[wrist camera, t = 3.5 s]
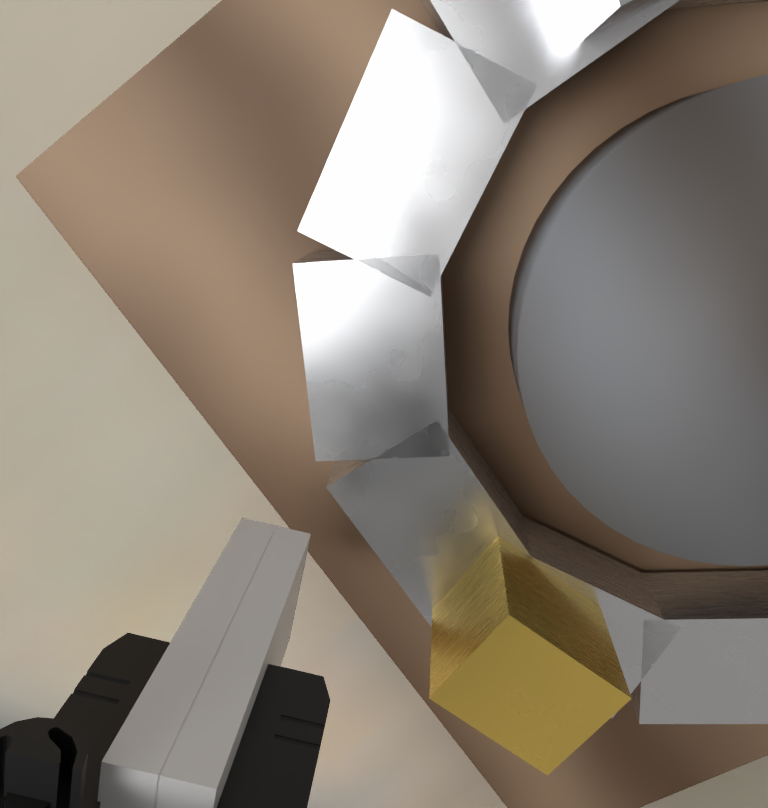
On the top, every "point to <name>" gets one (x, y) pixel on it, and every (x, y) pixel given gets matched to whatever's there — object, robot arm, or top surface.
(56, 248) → the top surface
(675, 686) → the grey block ring
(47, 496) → the top surface
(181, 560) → the top surface
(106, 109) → the walnut base
